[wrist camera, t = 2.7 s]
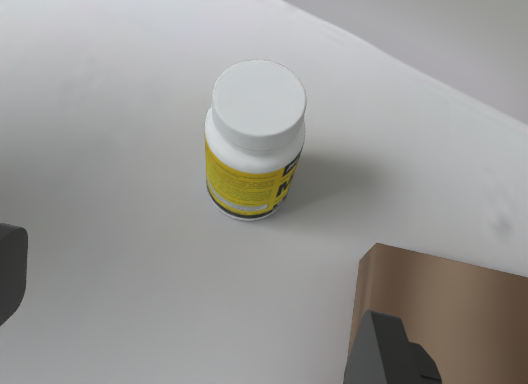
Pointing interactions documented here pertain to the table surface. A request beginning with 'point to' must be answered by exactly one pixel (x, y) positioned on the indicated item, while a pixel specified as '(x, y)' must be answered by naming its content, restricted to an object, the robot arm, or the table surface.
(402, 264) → the dock
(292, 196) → the table surface
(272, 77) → the supplement bottle
